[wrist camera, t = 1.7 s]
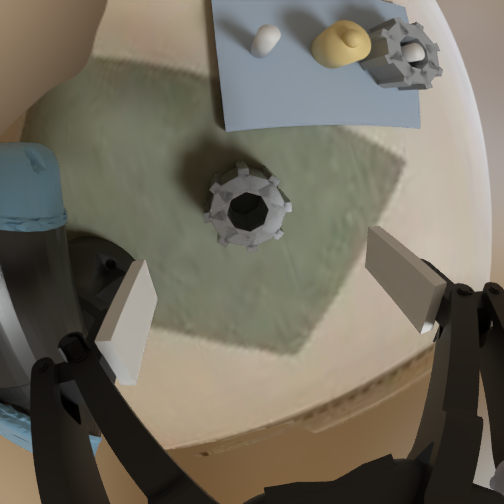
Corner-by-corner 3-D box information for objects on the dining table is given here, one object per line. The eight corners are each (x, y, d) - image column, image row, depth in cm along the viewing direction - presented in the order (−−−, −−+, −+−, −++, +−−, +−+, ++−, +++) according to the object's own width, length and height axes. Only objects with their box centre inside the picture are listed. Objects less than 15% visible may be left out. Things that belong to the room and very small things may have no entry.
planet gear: (230, 242, 31) (232, 264, 26) (194, 185, 28) (188, 197, 23) (290, 210, 30) (303, 226, 25) (258, 148, 27) (266, 154, 22)
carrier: (225, 131, 26) (226, 134, 19) (210, -7, 18) (208, -39, 12) (414, 127, 27) (454, 134, 20) (399, 9, 19) (435, -5, 13)
